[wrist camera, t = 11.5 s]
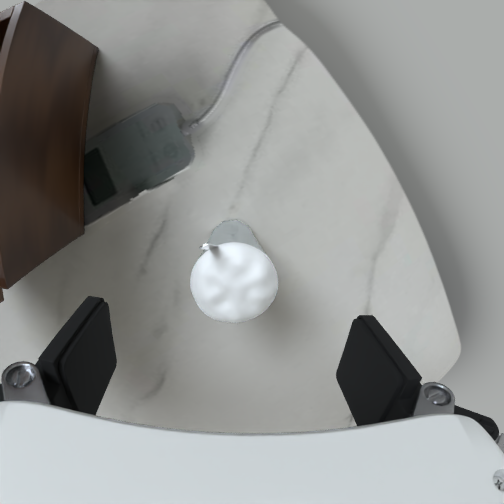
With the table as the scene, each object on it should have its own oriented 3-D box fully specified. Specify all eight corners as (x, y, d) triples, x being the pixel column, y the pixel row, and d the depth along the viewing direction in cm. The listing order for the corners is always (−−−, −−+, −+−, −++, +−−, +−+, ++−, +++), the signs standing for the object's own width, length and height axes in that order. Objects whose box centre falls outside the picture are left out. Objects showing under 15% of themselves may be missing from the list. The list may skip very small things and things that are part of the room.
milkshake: (243, 190, 22) (253, 223, 12) (270, 252, 24) (297, 321, 14) (187, 216, 22) (158, 266, 13) (218, 275, 24) (213, 354, 14)
